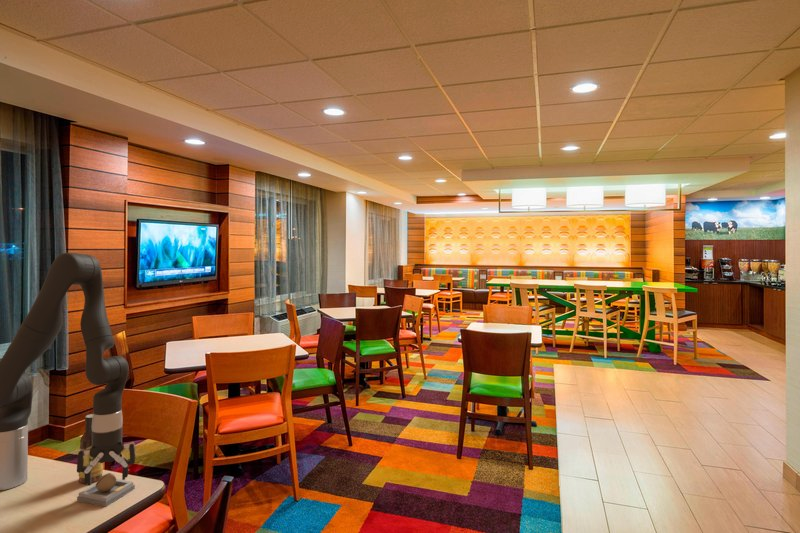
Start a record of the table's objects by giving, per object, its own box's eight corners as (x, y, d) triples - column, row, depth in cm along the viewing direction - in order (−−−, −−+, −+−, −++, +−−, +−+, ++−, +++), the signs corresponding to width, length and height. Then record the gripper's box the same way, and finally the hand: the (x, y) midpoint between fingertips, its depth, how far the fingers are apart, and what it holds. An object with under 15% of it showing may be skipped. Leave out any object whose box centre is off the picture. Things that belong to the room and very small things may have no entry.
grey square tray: (77, 501, 130) (77, 492, 130) (107, 484, 140) (107, 475, 140) (106, 506, 128) (106, 497, 128) (134, 488, 138) (134, 480, 138)
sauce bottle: (90, 485, 139) (91, 420, 138) (73, 483, 140) (73, 418, 140) (108, 475, 145) (109, 413, 145) (91, 473, 146) (92, 411, 146)
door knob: (116, 485, 137) (116, 468, 137) (115, 493, 133) (115, 476, 133) (96, 488, 135) (97, 471, 135) (94, 496, 131) (94, 479, 130)
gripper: (136, 418, 140) (135, 471, 140) (80, 425, 134) (79, 480, 134) (134, 427, 133) (134, 482, 134) (75, 434, 127) (74, 492, 127)
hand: (106, 481), depth 134 cm, fingers open, 8 cm apart
